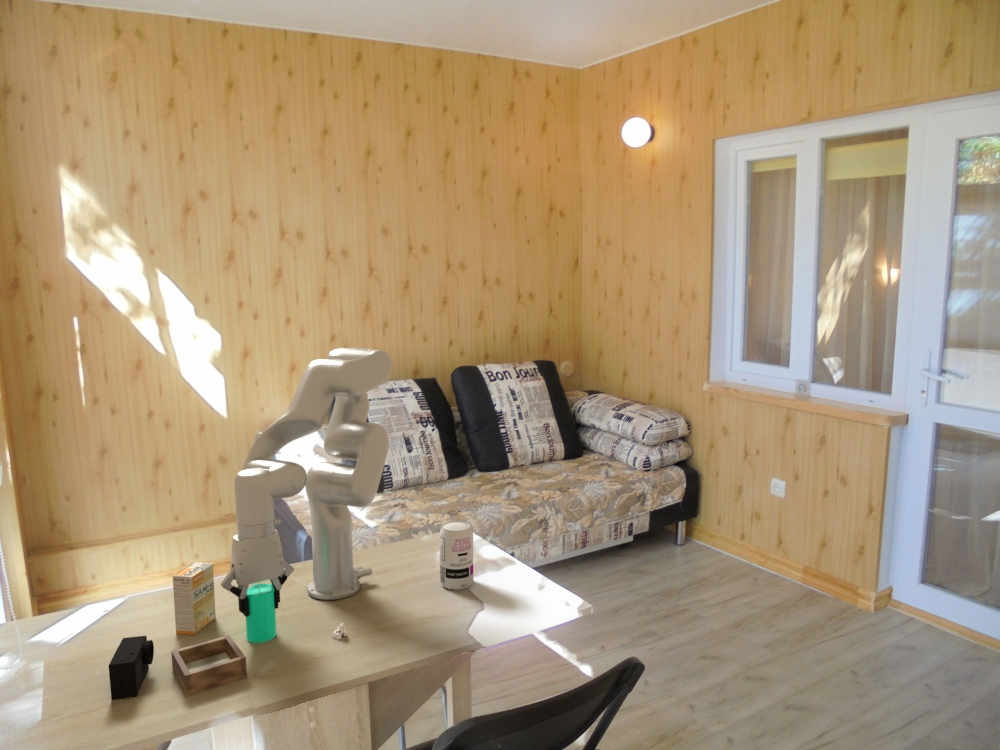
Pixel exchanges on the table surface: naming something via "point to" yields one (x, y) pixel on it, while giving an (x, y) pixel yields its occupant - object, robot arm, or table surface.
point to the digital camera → (130, 666)
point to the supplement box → (194, 598)
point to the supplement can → (456, 555)
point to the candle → (261, 613)
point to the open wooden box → (208, 665)
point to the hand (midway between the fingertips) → (259, 609)
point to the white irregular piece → (339, 631)
